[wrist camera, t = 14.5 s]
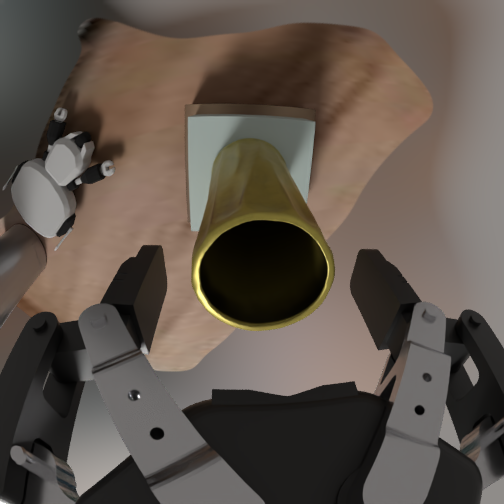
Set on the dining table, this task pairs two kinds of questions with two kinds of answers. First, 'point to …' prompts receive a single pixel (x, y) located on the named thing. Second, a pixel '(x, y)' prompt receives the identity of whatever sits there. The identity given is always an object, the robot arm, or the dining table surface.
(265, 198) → the vase
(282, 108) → the bottom brick
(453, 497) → the robot arm
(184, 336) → the dining table surface
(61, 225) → the robot toy
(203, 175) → the top brick
